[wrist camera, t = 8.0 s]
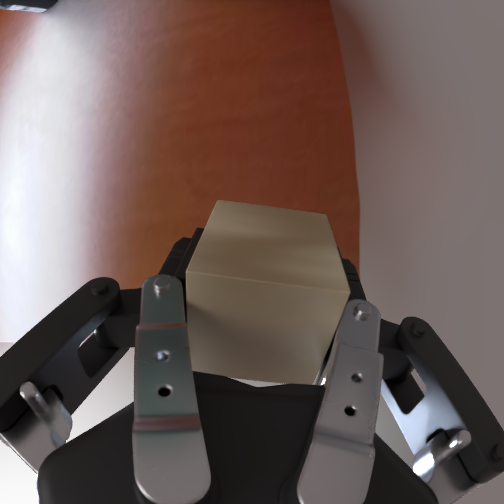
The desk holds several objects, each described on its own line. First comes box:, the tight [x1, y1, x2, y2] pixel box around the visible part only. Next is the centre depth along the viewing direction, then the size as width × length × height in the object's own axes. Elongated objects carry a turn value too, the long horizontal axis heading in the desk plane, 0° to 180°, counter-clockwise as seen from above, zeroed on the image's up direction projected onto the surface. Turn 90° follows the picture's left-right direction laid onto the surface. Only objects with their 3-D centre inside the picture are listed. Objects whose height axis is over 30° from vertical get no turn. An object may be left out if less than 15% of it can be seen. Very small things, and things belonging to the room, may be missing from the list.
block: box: [186, 200, 350, 385], centre depth 11 cm, size 4×4×5 cm
